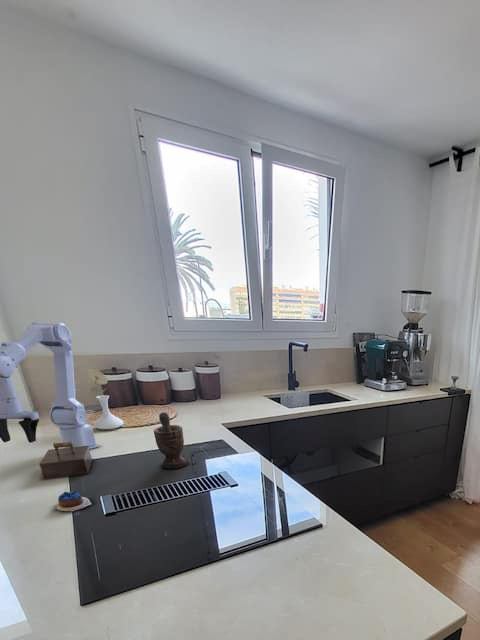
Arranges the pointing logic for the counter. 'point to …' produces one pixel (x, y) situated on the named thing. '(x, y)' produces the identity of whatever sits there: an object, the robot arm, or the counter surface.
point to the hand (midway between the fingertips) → (19, 441)
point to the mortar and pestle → (170, 442)
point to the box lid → (64, 454)
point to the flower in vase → (103, 404)
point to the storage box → (67, 468)
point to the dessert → (72, 501)
